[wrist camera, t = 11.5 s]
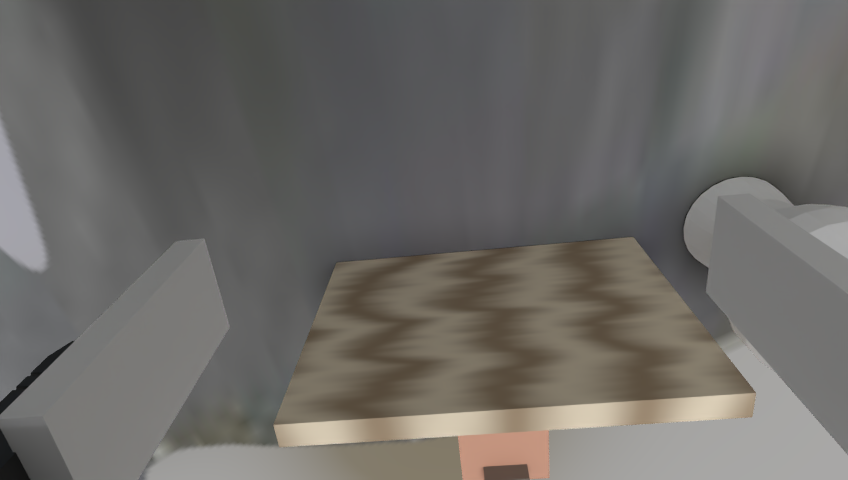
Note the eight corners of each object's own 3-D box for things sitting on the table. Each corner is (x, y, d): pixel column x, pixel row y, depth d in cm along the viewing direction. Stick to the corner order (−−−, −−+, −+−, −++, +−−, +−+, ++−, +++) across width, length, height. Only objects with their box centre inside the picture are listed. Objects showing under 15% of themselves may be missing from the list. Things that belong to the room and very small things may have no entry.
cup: (772, 129, 41) (940, 198, 27) (825, 238, 44) (999, 349, 30) (640, 208, 44) (732, 307, 30) (699, 305, 47) (806, 435, 33)
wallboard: (345, 312, 48) (292, 493, 31) (336, 262, 46) (273, 425, 29) (630, 289, 46) (744, 467, 29) (633, 236, 45) (756, 393, 27)
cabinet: (459, 401, 47) (463, 497, 38) (448, 298, 42) (450, 382, 34) (532, 396, 46) (552, 492, 38) (528, 292, 42) (551, 375, 33)
